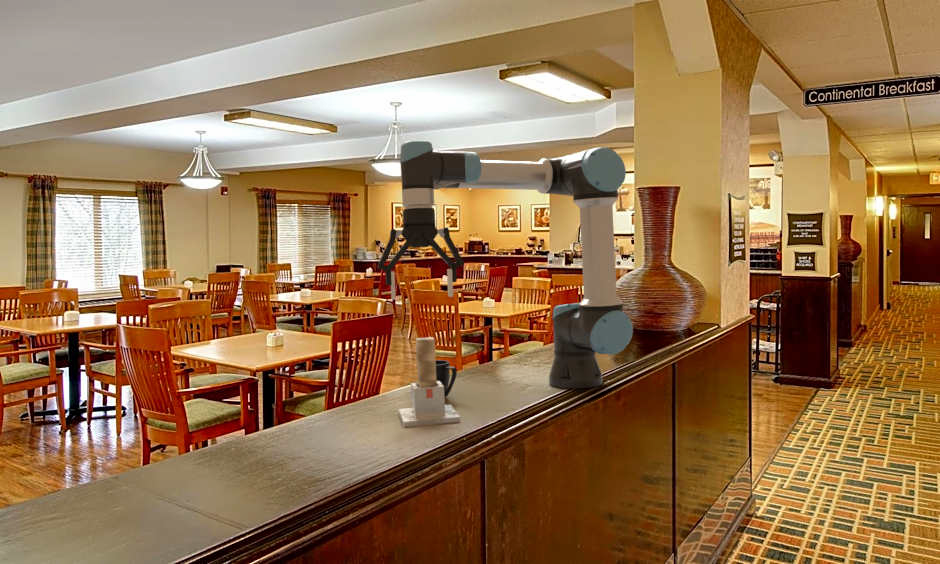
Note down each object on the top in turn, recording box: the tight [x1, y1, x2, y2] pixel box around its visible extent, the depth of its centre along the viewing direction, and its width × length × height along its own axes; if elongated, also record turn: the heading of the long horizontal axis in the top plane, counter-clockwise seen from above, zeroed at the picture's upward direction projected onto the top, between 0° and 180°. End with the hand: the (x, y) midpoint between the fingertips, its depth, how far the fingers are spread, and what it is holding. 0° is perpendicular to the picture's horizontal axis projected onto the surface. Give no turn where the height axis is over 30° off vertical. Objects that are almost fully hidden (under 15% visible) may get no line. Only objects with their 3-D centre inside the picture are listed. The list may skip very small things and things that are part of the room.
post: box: [415, 336, 437, 387], centre depth 160 cm, size 4×4×19 cm
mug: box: [436, 359, 458, 398], centre depth 181 cm, size 8×12×10 cm
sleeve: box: [398, 381, 461, 428], centre depth 161 cm, size 13×13×8 cm
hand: (422, 298), depth 160 cm, fingers open, 13 cm apart
